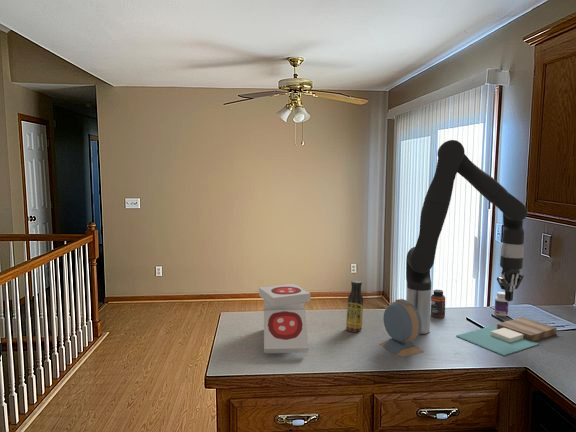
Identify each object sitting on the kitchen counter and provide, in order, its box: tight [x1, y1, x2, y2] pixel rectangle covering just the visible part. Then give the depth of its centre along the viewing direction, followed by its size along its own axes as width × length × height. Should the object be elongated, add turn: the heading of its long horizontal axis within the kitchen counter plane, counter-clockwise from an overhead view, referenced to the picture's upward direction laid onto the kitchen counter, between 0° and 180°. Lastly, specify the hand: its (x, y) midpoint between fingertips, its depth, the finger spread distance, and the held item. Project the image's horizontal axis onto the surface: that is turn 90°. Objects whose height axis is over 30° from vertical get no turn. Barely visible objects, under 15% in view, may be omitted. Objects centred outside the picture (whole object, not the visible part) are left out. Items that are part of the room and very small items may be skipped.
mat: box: [455, 325, 540, 357], centre depth 162 cm, size 20×20×1 cm
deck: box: [496, 316, 557, 342], centre depth 171 cm, size 16×14×2 cm
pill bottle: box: [493, 291, 510, 317], centre depth 191 cm, size 5×5×10 cm
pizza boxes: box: [258, 283, 311, 354], centre depth 160 cm, size 19×30×18 cm, turn 3°
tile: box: [491, 328, 524, 342], centre depth 165 cm, size 8×8×2 cm
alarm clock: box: [379, 298, 425, 358], centre depth 155 cm, size 14×10×18 cm
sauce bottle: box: [345, 279, 364, 333], centre depth 172 cm, size 7×6×20 cm
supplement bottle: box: [430, 289, 446, 319], centre depth 189 cm, size 6×6×11 cm
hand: (508, 300), depth 164 cm, fingers closed
